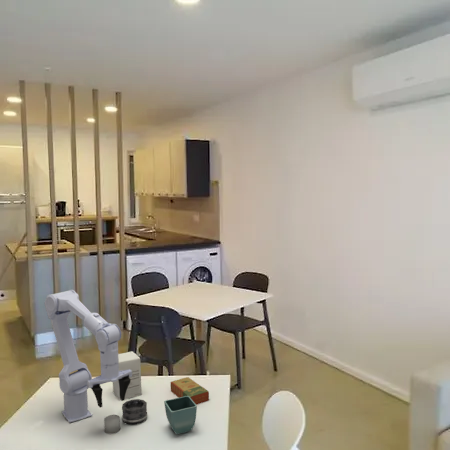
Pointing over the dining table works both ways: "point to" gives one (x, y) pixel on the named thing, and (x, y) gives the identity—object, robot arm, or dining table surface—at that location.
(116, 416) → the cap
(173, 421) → the flower pot
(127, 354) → the supplement box
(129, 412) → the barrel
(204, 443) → the dining table surface
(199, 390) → the carton
